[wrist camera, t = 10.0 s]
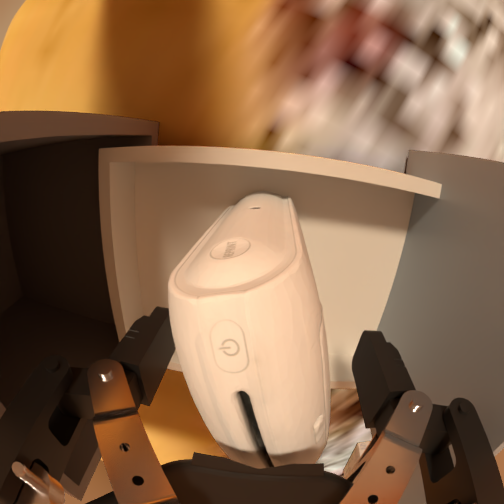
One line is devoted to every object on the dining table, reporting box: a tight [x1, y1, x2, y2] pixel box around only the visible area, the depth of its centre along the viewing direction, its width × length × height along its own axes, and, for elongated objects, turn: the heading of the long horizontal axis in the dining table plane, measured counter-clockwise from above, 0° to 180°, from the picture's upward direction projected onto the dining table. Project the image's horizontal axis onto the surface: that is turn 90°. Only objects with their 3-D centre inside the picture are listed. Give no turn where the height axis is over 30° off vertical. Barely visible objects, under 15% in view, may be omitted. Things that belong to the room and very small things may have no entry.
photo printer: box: [168, 191, 331, 469], centre depth 12 cm, size 10×4×12 cm, turn 12°
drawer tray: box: [98, 146, 504, 504], centre depth 12 cm, size 18×20×16 cm
